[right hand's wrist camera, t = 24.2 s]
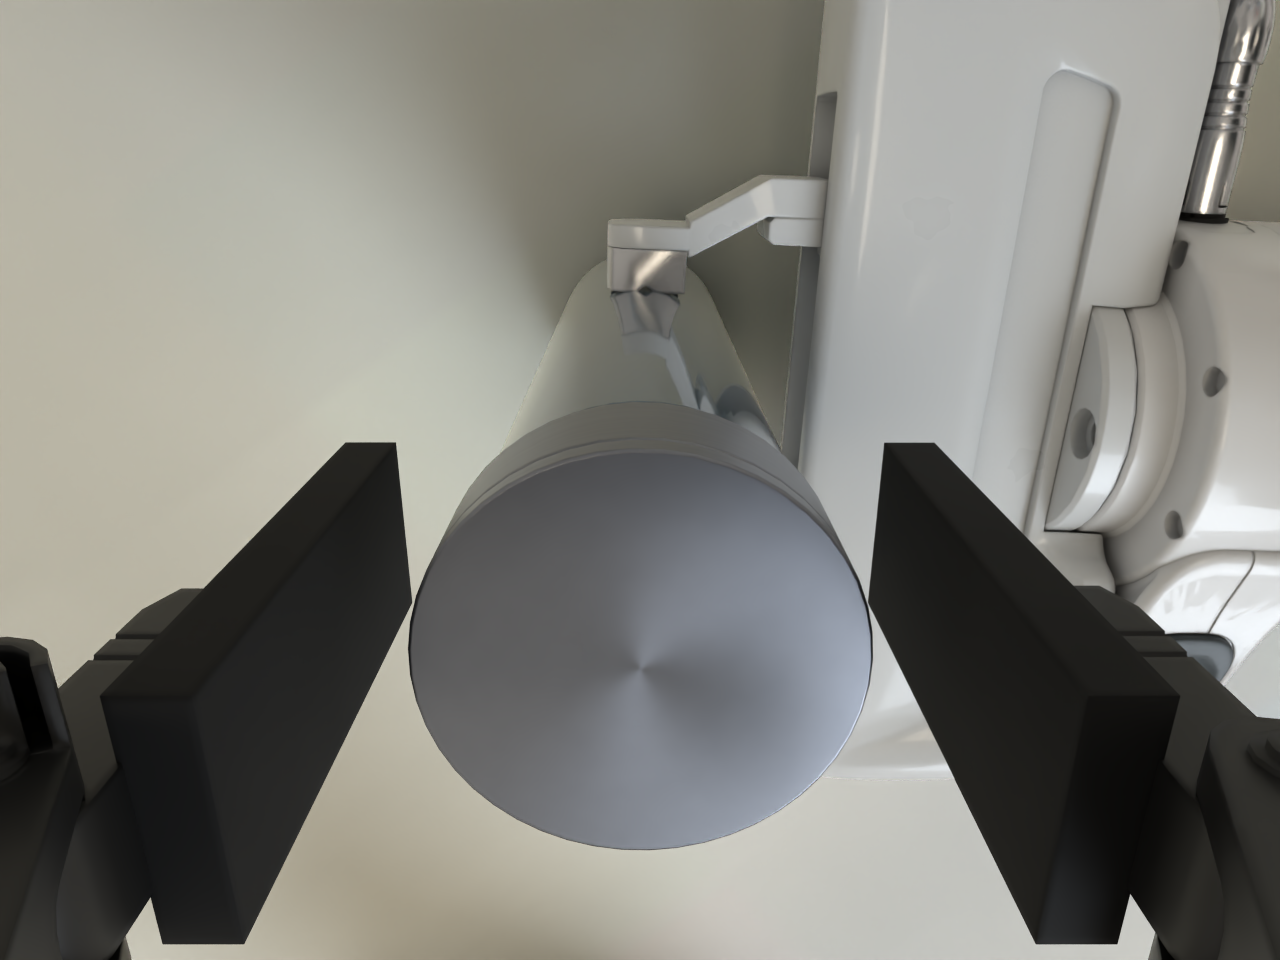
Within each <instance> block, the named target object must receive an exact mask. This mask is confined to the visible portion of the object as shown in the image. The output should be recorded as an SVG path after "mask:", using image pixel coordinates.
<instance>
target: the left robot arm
mask: <svg viewBox="0 0 1280 960" xmlns="http://www.w3.org/2000/svg"><path fill="white" fill-rule="evenodd" d="M1275 12H1276V0H825V2H824V13H823V23H822V33H821V43H820V53H819V63H818V73H817V84H816V94H815V104H814V114H813V124H812V134H811V144H810V155H809V165H808V175H807V176H784V175H758V176H756V177H754V178H753V179H751V180H749V181H747V182H745V183H744V184H742V185H740V186H738V187H736V188H734V189H733V190H731V191H729V192H727V193H725V194H724V195H722V196H720V197H718V198H716V199H714V200H713V201H711V202H709V203H707V204H705V205H703V206H702V207H700V208H698V209H696V210H694V211H693V212H691V213H689V214H687V215H686V220H685V221H684V220H658V219H632V218H624V219H609V222H608V235H607V289H609V290H612V291H620V292H630V291H638V290H640V289H641V288H643V287H644V286H647V287H648V288H649V289H651V290H652V291H653V292H659V293H665V294H684V293H685V280H686V266H687V255H688V257H689V258H690V257H692V256H694V255H696V254H698V253H699V252H701V251H703V250H705V249H707V248H709V247H711V246H713V245H715V244H717V243H719V242H721V241H722V240H724V239H726V238H728V237H730V236H732V235H734V234H736V233H738V232H740V231H742V230H744V229H745V228H747V227H749V226H751V225H753V224H755V223H757V231H758V232H759V234H760V235H761V236H762V237H764V238H765V239H766V240H768V241H769V242H770V243H772V244H773V245H788V246H800V256H799V266H798V276H797V286H796V297H795V307H794V317H793V327H792V337H791V347H790V357H789V368H788V378H787V388H786V398H785V408H784V418H783V429H782V439H781V449H780V450H781V452H782V454H783V455H784V456H785V457H786V458H787V459H788V460H789V461H790V462H791V463H792V464H793V465H794V466H795V468H796V469H797V470H798V471H799V472H800V473H801V474H802V475H803V476H804V478H805V479H806V480H807V482H808V483H809V485H810V486H811V487H812V489H813V490H814V492H815V493H816V495H817V496H818V498H819V500H820V502H821V504H822V506H823V508H824V510H825V512H826V514H827V516H828V518H829V520H830V522H831V524H832V526H833V528H834V530H835V532H836V534H837V536H838V538H839V540H840V542H841V544H842V546H843V548H844V550H845V552H846V554H847V556H848V558H849V560H850V562H851V564H852V566H853V568H854V570H855V572H856V574H857V576H858V578H859V580H860V583H861V586H862V589H863V592H864V595H865V598H866V601H867V604H868V596H869V586H870V576H871V566H872V557H873V547H874V537H875V527H876V518H877V508H878V498H879V489H880V479H881V469H882V459H883V450H884V443H935V444H936V445H937V446H938V447H939V448H940V449H941V450H942V451H943V452H944V453H945V454H946V455H947V456H948V457H949V458H950V459H951V460H952V461H953V462H954V463H955V464H956V465H957V466H958V467H959V468H960V469H961V470H962V471H963V472H964V473H965V475H966V476H967V477H968V478H969V479H970V480H971V481H972V482H973V483H974V484H975V485H976V486H977V487H978V488H979V489H980V490H981V491H982V492H983V493H984V494H985V495H986V496H987V497H988V498H989V499H990V500H991V501H992V502H993V503H994V504H995V505H996V506H997V507H998V508H999V510H1000V511H1001V512H1002V513H1003V514H1004V515H1005V516H1006V517H1007V518H1008V519H1009V520H1010V521H1011V522H1012V523H1013V524H1014V525H1015V526H1016V527H1017V528H1018V529H1019V530H1020V531H1021V532H1022V533H1023V534H1024V535H1025V536H1026V537H1027V538H1028V539H1029V540H1030V541H1031V542H1032V543H1033V544H1034V546H1035V547H1036V548H1037V549H1038V550H1039V551H1040V552H1041V553H1042V554H1043V555H1044V556H1045V557H1046V558H1047V559H1048V560H1049V561H1050V562H1051V563H1052V564H1053V565H1054V566H1055V567H1056V568H1057V569H1058V570H1059V571H1060V572H1061V573H1062V574H1063V575H1064V576H1065V577H1066V578H1067V579H1068V581H1069V582H1070V583H1071V584H1072V585H1073V586H1101V587H1103V588H1105V589H1107V590H1109V591H1110V592H1112V593H1114V594H1116V595H1118V596H1120V597H1122V598H1124V599H1126V600H1127V601H1129V602H1131V603H1133V604H1135V605H1137V606H1139V607H1140V608H1141V609H1142V610H1143V611H1144V612H1145V613H1146V614H1147V615H1148V616H1149V617H1151V618H1152V619H1153V620H1154V621H1155V622H1156V623H1157V624H1158V625H1159V626H1160V627H1161V628H1162V629H1163V630H1164V631H1165V636H1171V637H1172V638H1173V639H1174V640H1175V641H1176V642H1177V643H1178V644H1179V645H1180V646H1182V647H1183V648H1184V649H1185V650H1186V651H1187V657H1193V658H1194V659H1195V660H1196V661H1198V662H1199V663H1200V664H1201V665H1202V666H1203V667H1204V668H1205V669H1206V670H1207V671H1208V672H1209V673H1210V674H1211V675H1212V676H1214V677H1215V678H1216V679H1217V680H1218V681H1219V682H1220V683H1221V684H1222V685H1223V686H1225V684H1226V683H1227V682H1228V681H1229V679H1230V678H1231V677H1232V675H1233V674H1234V673H1235V672H1236V670H1237V669H1238V668H1239V667H1240V666H1241V664H1242V663H1243V662H1244V661H1245V660H1246V658H1247V657H1248V656H1249V655H1250V654H1251V652H1252V651H1253V650H1254V649H1255V648H1256V647H1257V646H1258V645H1259V644H1260V642H1261V641H1262V640H1263V639H1264V638H1265V637H1266V636H1267V635H1268V634H1269V633H1270V632H1271V631H1272V630H1273V629H1274V628H1275V627H1276V626H1277V625H1278V624H1279V623H1280V222H1261V221H1238V220H1229V218H1225V215H1226V211H1227V207H1228V203H1229V199H1230V196H1231V192H1232V188H1233V184H1234V180H1235V176H1236V173H1237V169H1238V165H1239V161H1240V157H1241V153H1242V149H1243V144H1244V138H1245V133H1246V131H1244V128H1246V125H1247V118H1246V117H1245V116H1246V115H1247V114H1248V110H1249V104H1248V101H1249V100H1250V98H1251V93H1252V90H1251V87H1253V85H1254V82H1255V78H1256V75H1257V71H1258V68H1259V65H1262V64H1263V63H1264V60H1265V57H1266V55H1267V52H1268V49H1269V46H1270V42H1271V38H1272V33H1273V29H1274V23H1275ZM868 608H869V614H870V619H871V625H872V631H873V664H872V671H871V678H870V685H869V689H868V692H867V695H866V699H865V702H864V706H863V709H862V712H861V714H860V716H859V719H858V721H857V723H856V725H855V727H854V730H853V732H852V734H851V736H850V737H849V739H848V741H847V742H846V744H845V745H844V747H843V748H842V750H841V752H840V753H839V755H838V756H837V758H836V759H835V760H834V761H833V762H832V764H831V765H830V766H829V767H828V768H827V770H826V771H825V772H824V773H823V774H822V776H821V777H825V778H835V779H849V780H877V781H915V780H950V779H954V777H953V775H952V773H951V771H950V769H949V767H948V764H947V762H946V760H945V758H944V756H943V754H942V752H941V750H940V748H939V746H938V744H937V742H936V740H935V738H934V736H933V734H932V732H931V730H930V728H929V726H928V724H927V722H926V720H925V718H924V716H923V714H922V712H921V710H920V708H919V706H918V704H917V701H916V699H915V697H914V695H913V693H912V691H911V689H910V687H909V685H908V683H907V681H906V679H905V677H904V675H903V673H902V671H901V669H900V667H899V665H898V663H897V661H896V659H895V657H894V655H893V653H892V651H891V649H890V647H889V645H888V643H887V641H886V638H885V636H884V634H883V632H882V630H881V628H880V626H879V624H878V622H877V620H876V618H875V616H874V614H873V612H872V610H871V608H870V606H869V604H868Z"/></svg>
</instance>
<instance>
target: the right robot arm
mask: <svg viewBox="0 0 1280 960" xmlns="http://www.w3.org/2000/svg"><path fill="white" fill-rule="evenodd" d="M411 604H412V596H411V586H410V576H409V566H408V557H407V547H406V537H405V527H404V518H403V508H402V498H401V489H400V479H399V469H398V459H397V450H396V443H345V444H344V445H343V446H342V447H341V448H340V449H339V450H338V451H337V452H336V453H335V454H334V455H333V456H332V457H331V458H330V459H329V460H328V461H327V462H326V463H325V464H324V465H323V466H322V467H321V468H320V469H319V470H318V471H317V472H316V474H315V475H314V476H313V477H312V478H311V479H310V480H309V481H308V482H307V483H306V484H305V485H304V486H303V487H302V488H301V489H300V490H299V491H298V492H297V493H296V494H295V495H294V496H293V497H292V498H291V499H290V500H289V501H288V502H287V503H286V504H285V505H284V506H283V507H282V508H281V510H280V511H279V512H278V513H277V514H276V515H275V516H274V517H273V518H272V519H271V520H270V521H269V522H268V523H267V524H266V525H265V526H264V527H263V528H262V529H261V530H260V531H259V532H258V533H257V534H256V535H255V536H254V537H253V538H252V539H251V540H250V541H249V542H248V543H247V544H246V546H245V547H244V548H243V549H242V550H241V551H240V552H239V553H238V554H237V555H236V556H235V557H234V558H233V559H232V560H231V561H230V562H229V563H228V564H227V565H226V566H225V567H224V568H223V569H222V570H221V571H220V572H219V573H218V574H217V575H216V576H215V577H214V578H213V579H212V581H211V582H210V583H209V584H208V585H207V586H206V587H205V588H204V589H180V590H178V591H176V592H174V593H172V594H170V595H168V596H167V597H165V598H163V599H161V600H159V601H157V602H155V603H153V604H152V605H150V606H148V607H146V608H144V609H142V610H141V611H140V612H139V613H138V614H137V615H136V616H135V617H134V618H133V619H132V620H130V621H129V622H128V623H127V624H126V625H125V626H124V627H123V628H122V629H121V630H120V631H119V632H118V633H117V634H116V638H115V639H110V640H109V641H108V642H107V643H106V644H105V645H104V646H103V647H102V648H101V649H100V650H99V651H98V652H97V653H95V654H94V659H93V660H88V661H87V662H86V663H85V664H84V665H83V666H82V667H81V668H80V669H79V670H77V671H76V672H75V673H74V674H73V675H72V676H71V677H70V678H69V679H68V680H67V681H66V682H65V683H64V684H63V685H62V686H61V687H59V688H58V687H57V684H56V680H55V676H54V673H53V669H52V665H51V662H50V658H49V654H48V651H47V649H46V648H44V647H43V646H41V645H40V644H38V643H37V642H35V641H34V640H28V639H21V638H13V637H0V960H131V955H130V951H129V947H128V944H127V940H126V934H127V933H128V931H129V930H130V928H131V927H132V925H133V923H134V922H135V920H136V919H137V917H138V916H139V914H140V913H141V911H142V910H143V908H144V906H145V905H146V903H147V902H148V900H149V899H150V897H151V900H152V904H153V908H154V912H155V916H156V920H157V924H158V928H159V932H160V936H161V940H162V944H244V943H245V941H246V939H247V937H248V935H249V933H250V931H251V929H252V927H253V925H254V923H255V921H256V919H257V917H258V915H259V913H260V911H261V909H262V907H263V905H264V903H265V901H266V899H267V897H268V895H269V893H270V890H271V888H272V886H273V884H274V882H275V880H276V878H277V876H278V874H279V872H280V870H281V868H282V866H283V864H284V862H285V860H286V858H287V856H288V854H289V852H290V850H291V848H292V846H293V844H294V842H295V840H296V838H297V836H298V834H299V832H300V830H301V827H302V825H303V823H304V821H305V819H306V817H307V815H308V813H309V811H310V809H311V807H312V805H313V803H314V801H315V799H316V797H317V795H318V793H319V791H320V789H321V787H322V785H323V783H324V781H325V779H326V777H327V775H328V773H329V771H330V769H331V767H332V764H333V762H334V760H335V758H336V756H337V754H338V752H339V750H340V748H341V746H342V744H343V742H344V740H345V738H346V736H347V734H348V732H349V730H350V728H351V726H352V724H353V722H354V720H355V718H356V716H357V714H358V712H359V710H360V708H361V706H362V704H363V701H364V699H365V697H366V695H367V693H368V691H369V689H370V687H371V685H372V683H373V681H374V679H375V677H376V675H377V673H378V671H379V669H380V667H381V665H382V663H383V661H384V659H385V657H386V655H387V653H388V651H389V649H390V647H391V645H392V643H393V641H394V638H395V636H396V634H397V632H398V630H399V628H400V626H401V624H402V622H403V620H404V618H405V616H406V614H407V612H408V610H409V608H410V606H411ZM868 604H869V606H870V608H871V610H872V612H873V614H874V616H875V618H876V620H877V622H878V624H879V626H880V628H881V630H882V632H883V634H884V636H885V638H886V641H887V643H888V645H889V647H890V649H891V651H892V653H893V655H894V657H895V659H896V661H897V663H898V665H899V667H900V669H901V671H902V673H903V675H904V677H905V679H906V681H907V683H908V685H909V687H910V689H911V691H912V693H913V695H914V697H915V699H916V701H917V704H918V706H919V708H920V710H921V712H922V714H923V716H924V718H925V720H926V722H927V724H928V726H929V728H930V730H931V732H932V734H933V736H934V738H935V740H936V742H937V744H938V746H939V748H940V750H941V752H942V754H943V756H944V758H945V760H946V762H947V764H948V767H949V769H950V771H951V773H952V775H953V777H954V779H955V781H956V783H957V785H958V787H959V789H960V791H961V793H962V795H963V797H964V799H965V801H966V803H967V805H968V807H969V809H970V811H971V813H972V815H973V817H974V819H975V821H976V823H977V825H978V827H979V830H980V832H981V834H982V836H983V838H984V840H985V842H986V844H987V846H988V848H989V850H990V852H991V854H992V856H993V858H994V860H995V862H996V864H997V866H998V868H999V870H1000V872H1001V874H1002V876H1003V878H1004V880H1005V882H1006V884H1007V886H1008V888H1009V890H1010V892H1011V895H1012V897H1013V899H1014V901H1015V903H1016V905H1017V907H1018V909H1019V911H1020V913H1021V915H1022V917H1023V919H1024V921H1025V923H1026V925H1027V927H1028V929H1029V931H1030V933H1031V935H1032V937H1033V939H1034V941H1035V943H1036V944H1118V940H1119V936H1120V932H1121V928H1122V924H1123V920H1124V916H1125V912H1126V908H1127V904H1128V900H1129V896H1130V894H1131V895H1132V897H1133V899H1134V900H1135V902H1136V903H1137V905H1138V906H1139V908H1140V909H1141V911H1142V912H1143V914H1144V915H1145V917H1146V918H1147V920H1148V922H1149V923H1150V925H1151V926H1152V928H1153V929H1154V931H1155V932H1156V933H1155V936H1154V940H1153V944H1152V947H1151V951H1150V955H1149V958H1148V960H1280V719H1272V718H1262V717H1256V716H1255V715H1254V714H1253V713H1252V712H1251V711H1250V710H1249V709H1248V708H1247V707H1246V706H1245V705H1243V704H1242V703H1241V702H1240V701H1239V700H1238V699H1237V698H1236V697H1235V696H1234V695H1233V694H1232V693H1231V692H1230V691H1229V690H1227V689H1226V688H1225V687H1224V686H1223V685H1222V684H1221V683H1220V682H1219V681H1218V680H1217V679H1216V678H1215V677H1214V676H1212V675H1211V674H1210V673H1209V672H1208V671H1207V670H1206V669H1205V668H1204V667H1203V666H1202V665H1201V664H1200V663H1199V662H1198V661H1196V660H1195V659H1194V658H1193V657H1187V651H1186V650H1185V649H1184V648H1183V647H1182V646H1180V645H1179V644H1178V643H1177V642H1176V641H1175V640H1174V639H1173V638H1172V637H1171V636H1165V631H1164V630H1163V629H1162V628H1161V627H1160V626H1159V625H1158V624H1157V623H1156V622H1155V621H1154V620H1153V619H1152V618H1151V617H1149V616H1148V615H1147V614H1146V613H1145V612H1144V611H1143V610H1142V609H1141V608H1140V607H1139V606H1137V605H1135V604H1133V603H1131V602H1129V601H1127V600H1126V599H1124V598H1122V597H1120V596H1118V595H1116V594H1114V593H1112V592H1110V591H1109V590H1107V589H1105V588H1103V587H1101V586H1073V585H1072V584H1071V583H1070V582H1069V581H1068V579H1067V578H1066V577H1065V576H1064V575H1063V574H1062V573H1061V572H1060V571H1059V570H1058V569H1057V568H1056V567H1055V566H1054V565H1053V564H1052V563H1051V562H1050V561H1049V560H1048V559H1047V558H1046V557H1045V556H1044V555H1043V554H1042V553H1041V552H1040V551H1039V550H1038V549H1037V548H1036V547H1035V546H1034V544H1033V543H1032V542H1031V541H1030V540H1029V539H1028V538H1027V537H1026V536H1025V535H1024V534H1023V533H1022V532H1021V531H1020V530H1019V529H1018V528H1017V527H1016V526H1015V525H1014V524H1013V523H1012V522H1011V521H1010V520H1009V519H1008V518H1007V517H1006V516H1005V515H1004V514H1003V513H1002V512H1001V511H1000V510H999V508H998V507H997V506H996V505H995V504H994V503H993V502H992V501H991V500H990V499H989V498H988V497H987V496H986V495H985V494H984V493H983V492H982V491H981V490H980V489H979V488H978V487H977V486H976V485H975V484H974V483H973V482H972V481H971V480H970V479H969V478H968V477H967V476H966V475H965V473H964V472H963V471H962V470H961V469H960V468H959V467H958V466H957V465H956V464H955V463H954V462H953V461H952V460H951V459H950V458H949V457H948V456H947V455H946V454H945V453H944V452H943V451H942V450H941V449H940V448H939V447H938V446H937V445H936V444H935V443H884V450H883V459H882V469H881V479H880V489H879V498H878V508H877V518H876V527H875V537H874V547H873V557H872V566H871V576H870V586H869V596H868Z"/></svg>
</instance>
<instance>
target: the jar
mask: <svg viewBox="0 0 1280 960" xmlns="http://www.w3.org/2000/svg"><path fill="white" fill-rule="evenodd" d="M628 402H648V403H665V404H672V405H678V406H685V407H690V408H693V409H697V410H700V411H704V412H707V413H711V414H714V415H717V416H719V417H722V418H724V419H726V420H729V421H731V422H733V423H736V424H738V425H740V426H742V427H744V428H745V429H747V430H749V431H750V432H752V433H754V434H755V435H757V436H759V437H760V438H762V439H764V440H765V441H766V442H768V443H769V444H770V445H771V446H773V447H774V448H775V449H776V450H778V451H779V452H780V453H781V454H782V452H781V450H780V448H779V446H778V443H777V441H776V439H775V437H774V434H773V432H772V430H771V428H770V426H769V423H768V421H767V419H766V417H765V414H764V412H763V410H762V408H761V406H760V403H759V401H758V399H757V397H756V394H755V392H754V390H753V388H752V386H751V383H750V381H749V379H748V377H747V375H746V372H745V370H744V368H743V366H742V363H741V361H740V359H739V357H738V355H737V352H736V350H735V348H734V346H733V343H732V341H731V339H730V337H729V335H728V332H727V330H726V328H725V326H724V323H723V321H722V319H721V317H720V315H719V312H718V310H717V308H716V306H715V303H714V301H713V299H712V297H711V295H710V293H709V291H708V289H707V288H706V286H705V285H704V283H703V282H702V281H701V279H700V278H699V277H698V276H697V275H696V274H695V273H694V272H693V271H692V270H691V269H689V268H688V267H687V266H686V280H685V293H684V294H665V293H659V292H653V291H652V290H651V289H649V288H648V287H647V286H644V287H643V288H641V289H640V290H638V291H630V292H620V291H612V290H609V289H607V259H606V260H604V261H602V262H600V263H599V264H597V265H596V266H595V267H593V268H592V269H590V270H589V271H588V272H587V273H586V274H585V275H584V276H583V277H582V279H581V280H580V281H579V282H578V284H577V285H576V287H575V288H574V290H573V292H572V293H571V295H570V298H569V300H568V302H567V304H566V307H565V309H564V311H563V313H562V315H561V318H560V320H559V322H558V324H557V327H556V329H555V331H554V333H553V335H552V338H551V340H550V342H549V344H548V347H547V349H546V351H545V353H544V356H543V358H542V360H541V362H540V364H539V367H538V369H537V371H536V373H535V376H534V378H533V380H532V382H531V384H530V387H529V389H528V391H527V393H526V396H525V398H524V400H523V402H522V405H521V407H520V409H519V411H518V413H517V416H516V418H515V420H514V422H513V425H512V427H511V429H510V431H509V433H508V436H507V438H506V440H505V442H504V445H503V447H502V449H501V451H500V453H501V452H502V451H503V450H504V449H506V448H507V447H509V446H510V445H511V444H513V443H514V442H516V441H517V440H518V439H520V438H521V437H523V436H524V435H525V434H527V433H529V432H531V431H533V430H535V429H536V428H538V427H540V426H542V425H544V424H546V423H548V422H550V421H552V420H555V419H557V418H560V417H563V416H565V415H568V414H571V413H573V412H576V411H580V410H585V409H589V408H593V407H597V406H602V405H609V404H618V403H628ZM500 453H499V454H500Z"/></svg>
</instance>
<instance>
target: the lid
mask: <svg viewBox="0 0 1280 960" xmlns="http://www.w3.org/2000/svg"><path fill="white" fill-rule="evenodd" d="M408 654H409V666H410V676H411V681H412V685H413V689H414V694H415V698H416V702H417V704H418V707H419V709H420V712H421V715H422V717H423V720H424V722H425V725H426V727H427V729H428V730H429V732H430V734H431V736H432V738H433V739H434V741H435V743H436V745H437V746H438V748H439V750H440V751H441V752H442V754H443V755H444V756H445V758H446V759H447V760H448V762H449V763H450V764H451V766H452V767H453V768H454V769H455V771H456V772H457V773H458V774H459V775H460V776H461V777H462V778H463V779H464V780H465V781H466V782H467V783H468V784H469V785H470V786H471V787H472V788H473V789H474V790H476V791H477V792H478V793H479V794H481V795H482V796H483V797H484V798H486V799H487V800H488V801H489V802H491V803H492V804H493V805H495V806H496V807H498V808H499V809H501V810H503V811H504V812H506V813H507V814H509V815H511V816H512V817H514V818H516V819H517V820H519V821H521V822H524V823H526V824H528V825H530V826H532V827H534V828H536V829H538V830H540V831H543V832H546V833H549V834H552V835H554V836H557V837H560V838H563V839H566V840H570V841H574V842H578V843H583V844H587V845H591V846H597V847H605V848H613V849H621V850H657V849H669V848H679V847H684V846H689V845H694V844H700V843H705V842H708V841H711V840H715V839H718V838H721V837H725V836H728V835H731V834H733V833H736V832H738V831H740V830H743V829H745V828H748V827H750V826H752V825H755V824H757V823H758V822H760V821H762V820H764V819H765V818H767V817H769V816H771V815H773V814H774V813H776V812H778V811H780V810H781V809H782V808H784V807H785V806H786V805H788V804H789V803H791V802H792V801H793V800H795V799H796V798H798V797H799V796H800V795H801V794H803V793H804V792H805V791H806V790H807V789H808V788H809V787H810V786H811V785H812V784H813V783H814V782H815V781H817V780H818V779H819V778H820V777H821V776H822V774H823V773H824V772H825V771H826V770H827V768H828V767H829V766H830V765H831V764H832V762H833V761H834V760H835V759H836V758H837V756H838V755H839V753H840V752H841V750H842V748H843V747H844V745H845V744H846V742H847V741H848V739H849V737H850V736H851V734H852V732H853V730H854V727H855V725H856V723H857V721H858V719H859V716H860V714H861V712H862V709H863V706H864V702H865V699H866V695H867V692H868V689H869V685H870V678H871V671H872V664H873V631H872V625H871V619H870V614H869V608H868V604H867V601H866V598H865V595H864V592H863V589H862V586H861V583H860V580H859V578H858V576H857V574H856V572H855V570H854V568H853V566H852V564H851V562H850V560H849V558H848V556H847V554H846V552H845V550H844V548H843V546H842V544H841V542H840V540H839V538H838V536H837V534H836V532H835V530H834V528H833V526H832V524H831V522H830V520H829V518H828V516H827V514H826V512H825V510H824V508H823V506H822V504H821V502H820V500H819V498H818V496H817V495H816V493H815V492H814V490H813V489H812V487H811V486H810V485H809V483H808V482H807V480H806V479H805V478H804V476H803V475H802V474H801V473H800V472H799V471H798V470H797V469H796V468H795V466H794V465H793V464H792V463H791V462H790V461H789V460H788V459H787V458H786V457H785V456H784V455H783V454H781V453H780V452H779V451H778V450H776V449H775V448H774V447H773V446H771V445H770V444H769V443H768V442H766V441H765V440H764V439H762V438H760V437H759V436H757V435H755V434H754V433H752V432H750V431H749V430H747V429H745V428H744V427H742V426H740V425H738V424H736V423H733V422H731V421H729V420H726V419H724V418H722V417H719V416H717V415H714V414H711V413H707V412H704V411H700V410H697V409H693V408H690V407H685V406H678V405H672V404H665V403H648V402H628V403H618V404H609V405H602V406H597V407H593V408H589V409H585V410H580V411H576V412H573V413H571V414H568V415H565V416H563V417H560V418H557V419H555V420H552V421H550V422H548V423H546V424H544V425H542V426H540V427H538V428H536V429H535V430H533V431H531V432H529V433H527V434H525V435H524V436H523V437H521V438H520V439H518V440H517V441H516V442H514V443H513V444H511V445H510V446H509V447H507V448H506V449H504V450H503V451H502V452H501V453H500V454H499V455H498V456H497V457H496V458H495V459H494V460H493V461H492V462H491V463H490V464H489V465H488V466H487V467H485V469H484V470H483V471H482V472H481V474H480V475H479V476H478V477H477V479H476V480H475V481H474V482H473V484H472V485H471V486H470V488H469V489H468V491H467V493H466V494H465V496H464V498H463V499H462V501H461V503H460V505H459V506H458V508H457V510H456V512H455V514H454V516H453V518H452V520H451V522H450V524H449V526H448V528H447V530H446V532H445V534H444V536H443V538H442V540H441V542H440V544H439V546H438V548H437V550H436V552H435V554H434V556H433V558H432V560H431V562H430V564H429V566H428V568H427V570H426V573H425V575H424V578H423V580H422V583H421V585H420V588H419V590H418V593H417V595H416V599H415V603H414V608H413V612H412V616H411V621H410V630H409V644H408Z"/></svg>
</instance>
